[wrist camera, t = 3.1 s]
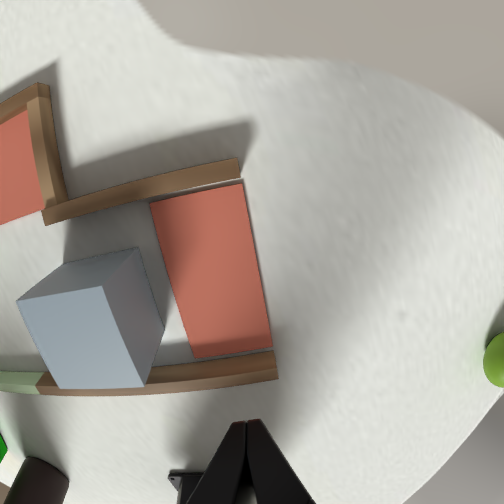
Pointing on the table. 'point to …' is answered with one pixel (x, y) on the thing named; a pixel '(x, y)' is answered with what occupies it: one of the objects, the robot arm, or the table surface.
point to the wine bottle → (37, 484)
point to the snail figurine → (495, 361)
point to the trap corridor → (172, 246)
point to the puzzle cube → (2, 449)
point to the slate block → (95, 322)
